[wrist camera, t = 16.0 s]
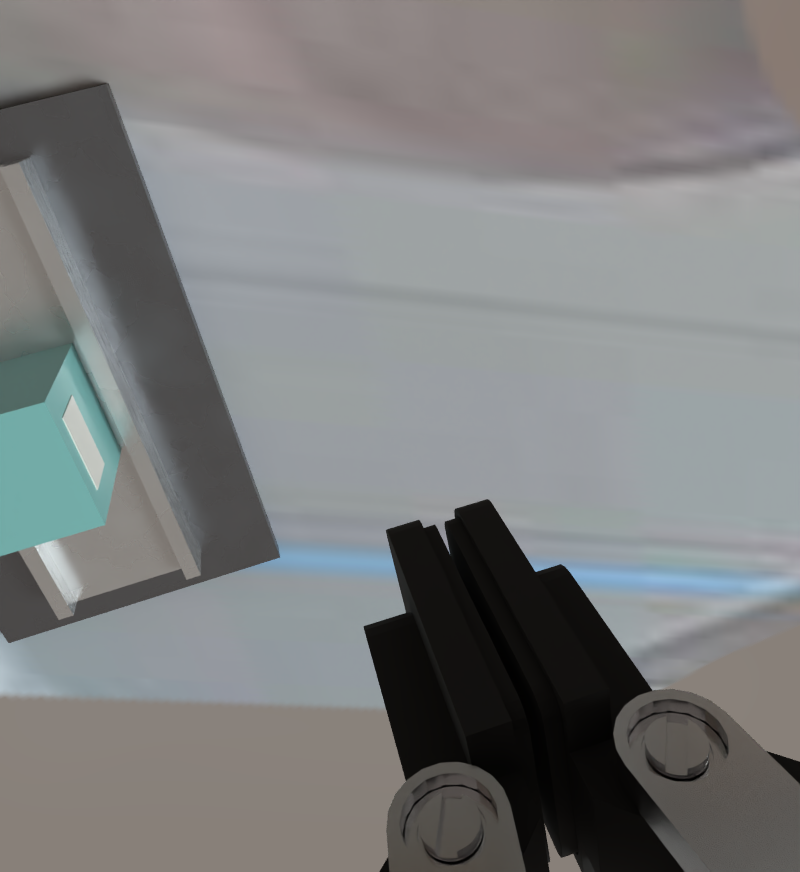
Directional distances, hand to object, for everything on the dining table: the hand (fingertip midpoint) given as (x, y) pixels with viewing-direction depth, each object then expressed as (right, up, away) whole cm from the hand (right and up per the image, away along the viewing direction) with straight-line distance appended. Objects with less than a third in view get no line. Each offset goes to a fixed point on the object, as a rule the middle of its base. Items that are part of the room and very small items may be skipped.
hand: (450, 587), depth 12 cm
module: (-18, +3, +24) cm, 30 cm away
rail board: (-18, +4, +26) cm, 32 cm away
